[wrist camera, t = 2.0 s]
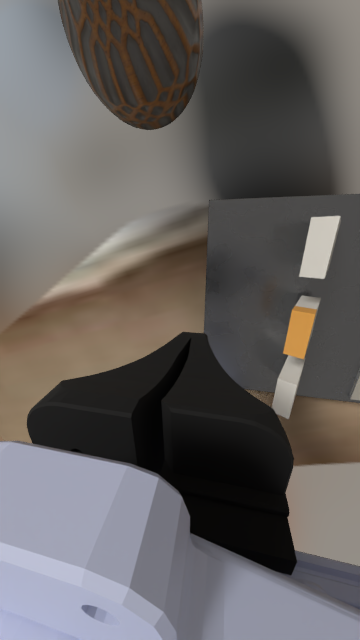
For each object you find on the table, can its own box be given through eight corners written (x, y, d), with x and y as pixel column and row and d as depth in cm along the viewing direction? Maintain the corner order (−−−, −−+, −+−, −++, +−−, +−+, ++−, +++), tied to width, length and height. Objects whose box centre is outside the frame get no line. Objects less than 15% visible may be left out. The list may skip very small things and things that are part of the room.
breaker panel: (373, 390, 20) (391, 408, 17) (203, 371, 22) (201, 385, 20) (458, 194, 13) (501, 187, 11) (210, 203, 16) (208, 199, 14)
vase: (198, -17, 12) (151, -482, 4) (214, 127, 15) (203, -3, 7) (98, 36, 14) (-68, -226, 6) (126, 157, 16) (34, 83, 8)
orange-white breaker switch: (311, 335, 16) (304, 359, 13) (293, 331, 16) (283, 353, 14) (321, 297, 15) (315, 314, 12) (301, 295, 15) (292, 310, 12)
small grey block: (297, 388, 18) (288, 419, 15) (282, 382, 18) (271, 411, 15) (305, 358, 17) (297, 385, 14) (289, 353, 17) (277, 378, 14)
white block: (328, 269, 14) (324, 278, 11) (308, 267, 15) (298, 276, 12) (341, 219, 13) (340, 215, 10) (318, 221, 13) (311, 217, 10)
